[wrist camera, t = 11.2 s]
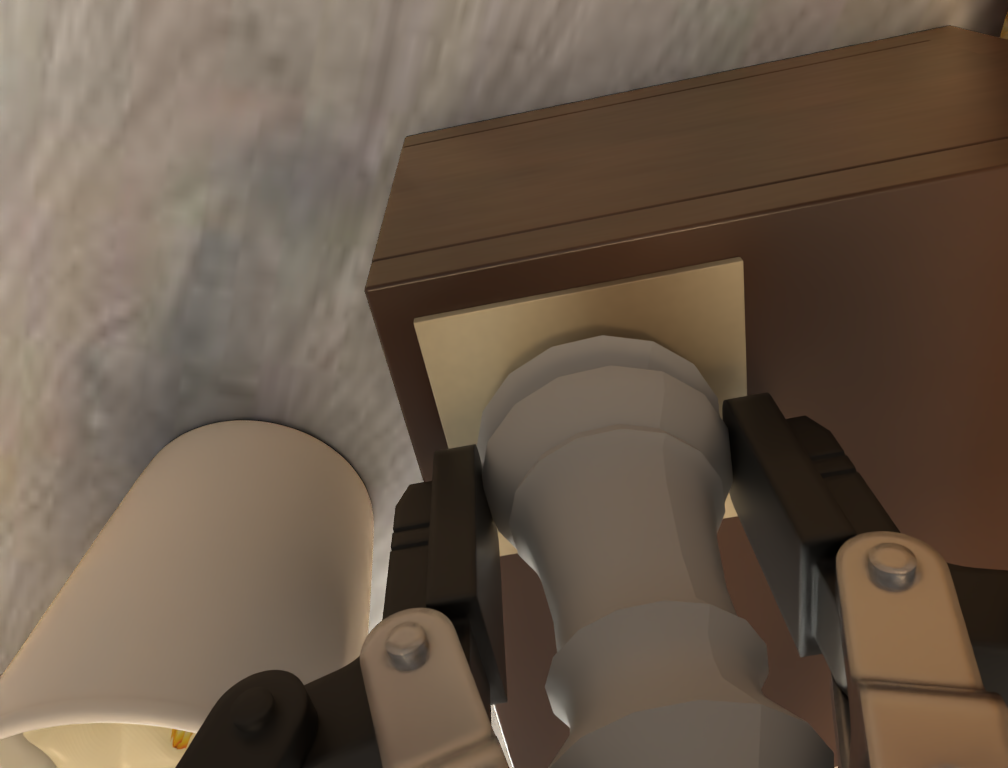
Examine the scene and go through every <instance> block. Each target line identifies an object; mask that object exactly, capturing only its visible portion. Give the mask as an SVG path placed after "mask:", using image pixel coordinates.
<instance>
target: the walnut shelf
mask: <svg viewBox="0 0 1008 768" xmlns="http://www.w3.org/2000/svg"><path fill="white" fill-rule="evenodd" d="M365 294H366V297H367V300H368V303H369V307H370V310H371V313H372V316H373V320H374V323H375V326H376V329H377V333H378V336H379V339H380V342H381V345H382V349H383V352H384V355H385V358H386V362H387V365H388V368H389V371H390V374H391V378H392V381H393V384H394V387H395V391H396V394H397V397H398V400H399V404H400V407H401V410H402V413H403V416H404V420H405V423H406V426H407V429H408V433H409V436H410V439H411V442H412V446H413V449H414V452H415V455H416V458H417V462H418V465H419V468H420V471H421V475H422V478H423V481H424V482H428V481H432V474H433V457H434V452H435V451H439V450H444V449H450V448H455V447H461V446H467V445H472V444H476V446H477V441H478V436H479V430H480V424H481V418H482V412H483V410H484V409H485V407H486V406H487V405H488V403H489V402H490V400H491V399H492V397H493V396H494V395H495V393H496V392H497V390H498V389H499V388H500V386H501V385H502V383H503V382H504V380H505V379H506V378H507V376H508V375H509V374H510V373H512V372H513V371H515V370H516V369H518V368H519V367H521V366H522V365H524V364H526V363H527V362H529V361H530V360H532V359H533V358H535V357H536V356H538V355H540V354H541V353H543V352H544V351H546V350H547V349H549V348H550V347H553V346H558V345H562V344H566V343H571V342H575V341H579V340H584V339H588V338H592V337H597V336H601V335H605V336H613V337H622V338H630V339H638V340H646V341H654V342H655V343H657V344H659V345H661V346H662V347H664V348H666V349H668V350H670V351H671V352H673V353H675V354H677V355H679V356H680V357H682V358H684V359H686V360H688V361H689V362H691V363H693V364H694V365H695V366H696V368H697V369H698V371H699V372H700V373H701V375H702V376H703V378H704V379H705V381H706V382H707V383H708V385H709V386H710V388H711V389H712V391H713V392H714V394H715V395H716V396H717V398H718V404H719V412H720V417H721V419H722V420H723V416H722V405H723V401H724V400H727V399H732V398H738V397H744V396H749V395H755V394H760V393H766V392H768V393H769V394H770V395H771V396H772V398H773V399H774V401H775V402H776V404H777V406H778V407H779V409H780V411H781V412H782V414H783V415H784V417H785V419H788V418H794V417H799V416H805V415H806V416H807V417H809V418H810V419H812V420H814V421H815V422H817V423H818V424H820V425H822V426H823V427H825V428H826V429H828V430H830V431H831V433H832V434H833V436H834V437H835V438H836V440H837V441H838V443H839V444H840V446H841V447H842V449H843V450H844V453H845V456H846V455H847V456H848V457H849V459H850V460H851V462H852V463H853V464H854V466H855V467H856V471H857V472H859V473H860V475H861V476H862V477H863V479H864V480H865V482H866V483H867V485H868V486H869V488H870V489H871V490H872V492H873V493H874V495H875V496H876V498H877V499H878V501H879V502H880V503H881V505H882V506H883V508H884V509H885V511H886V512H887V514H888V515H889V516H890V518H891V519H892V521H893V522H894V524H895V525H896V527H897V528H898V529H899V531H900V532H901V533H902V534H905V535H909V536H912V537H914V538H917V539H919V540H921V541H923V542H925V543H927V544H928V545H930V546H931V547H932V548H934V549H935V550H936V551H937V552H938V553H939V554H940V555H941V556H942V557H943V558H944V560H945V561H946V562H947V563H950V564H955V565H959V566H965V567H973V568H984V569H997V570H1008V40H1007V39H1003V38H999V37H995V36H991V35H987V34H983V33H979V32H975V31H971V30H966V29H962V28H958V27H954V26H945V27H940V28H935V29H930V30H926V31H921V32H916V33H911V34H907V35H902V36H897V37H892V38H887V39H882V40H878V41H873V42H868V43H863V44H858V45H853V46H848V47H843V48H838V49H833V50H829V51H824V52H819V53H814V54H809V55H804V56H799V57H794V58H789V59H784V60H780V61H775V62H770V63H765V64H760V65H755V66H750V67H745V68H740V69H736V70H731V71H726V72H721V73H716V74H711V75H706V76H701V77H696V78H691V79H687V80H682V81H677V82H672V83H667V84H662V85H657V86H652V87H647V88H642V89H638V90H633V91H628V92H623V93H618V94H613V95H608V96H603V97H598V98H594V99H589V100H584V101H579V102H574V103H569V104H564V105H559V106H554V107H549V108H545V109H540V110H535V111H530V112H525V113H520V114H515V115H510V116H505V117H500V118H496V119H491V120H486V121H481V122H476V123H471V124H466V125H461V126H456V127H452V128H447V129H442V130H437V131H432V132H427V133H422V134H417V135H412V136H407V137H406V138H405V140H404V144H403V148H402V150H401V154H400V158H399V162H398V165H397V169H396V173H395V177H394V180H393V184H392V188H391V192H390V195H389V199H388V203H387V207H386V210H385V214H384V218H383V222H382V225H381V229H380V233H379V237H378V240H377V244H376V248H375V252H374V255H373V259H372V264H371V267H370V271H369V275H368V278H367V282H366V286H365ZM497 531H498V529H497ZM498 538H499V551H500V570H501V588H502V607H503V625H504V644H505V662H506V681H507V699H508V702H507V703H500V704H494V705H493V707H494V710H495V713H496V717H497V720H498V723H499V726H500V730H501V733H502V736H503V739H504V743H505V746H506V749H507V752H508V755H509V759H510V762H511V765H512V768H548V767H549V766H550V764H551V763H552V761H553V760H554V758H555V757H556V755H557V754H558V752H559V751H560V749H561V748H562V746H563V745H564V743H565V742H566V740H567V739H568V737H569V736H570V727H568V726H567V725H566V724H565V723H564V722H563V721H562V720H560V719H559V718H558V717H557V716H556V715H555V714H554V713H553V710H552V707H551V704H550V701H549V698H548V695H547V692H546V689H545V684H546V681H547V677H548V673H549V670H550V666H551V663H552V659H553V657H554V656H555V654H556V653H557V648H556V639H555V631H554V623H553V619H552V616H551V612H550V609H549V605H548V602H547V599H546V595H545V592H544V588H543V585H542V582H541V580H540V578H539V576H538V574H537V573H536V572H535V571H534V570H533V569H532V568H531V567H530V566H529V565H528V564H527V563H526V562H525V561H524V560H523V559H522V558H521V557H520V556H519V555H518V552H517V549H516V548H515V547H514V546H513V545H512V544H511V543H510V542H509V541H508V540H507V539H506V538H505V537H504V536H503V535H502V534H501V533H500V532H499V531H498ZM717 541H718V546H719V551H720V557H721V562H722V567H723V572H724V577H725V582H726V587H727V590H728V593H729V595H730V598H731V601H732V603H733V606H734V609H735V611H736V614H737V616H738V617H740V618H743V619H745V620H747V622H748V623H749V624H750V625H751V627H752V628H753V629H754V630H755V631H756V633H757V634H758V635H759V636H760V637H761V639H762V640H763V641H764V642H765V643H766V645H767V656H768V667H769V674H768V676H767V678H766V680H765V682H764V684H763V686H762V688H761V691H762V693H763V694H764V696H765V697H766V698H767V699H769V700H771V701H772V702H774V703H776V704H777V705H779V706H781V707H782V708H784V709H786V710H787V711H789V712H791V713H792V714H794V715H796V716H797V717H799V718H801V719H802V720H804V721H806V722H807V723H809V724H810V725H811V727H812V728H813V729H814V730H815V731H816V732H817V734H818V735H819V736H820V737H821V738H822V739H823V741H824V742H825V743H826V744H827V745H828V746H829V748H830V749H831V750H832V751H833V752H834V767H836V766H838V761H837V752H836V742H835V733H834V724H833V714H832V705H831V696H830V676H831V671H830V669H829V666H828V664H827V662H826V660H825V658H824V656H823V654H818V655H812V656H805V657H800V655H799V652H798V650H797V648H796V646H795V643H794V641H793V639H792V637H791V634H790V632H789V630H788V628H787V625H786V623H785V621H784V619H783V616H782V614H781V612H780V610H779V607H778V605H777V603H776V601H775V598H774V596H773V594H772V592H771V589H770V587H769V585H768V583H767V580H766V578H765V576H764V574H763V571H762V569H761V567H760V565H759V562H758V560H757V558H756V556H755V553H754V551H753V549H752V547H751V544H750V542H749V540H748V538H747V535H746V533H745V531H744V529H743V526H742V524H741V522H740V520H739V517H738V515H737V513H736V510H735V508H734V506H733V503H732V500H731V497H730V494H729V493H728V496H727V498H726V501H725V514H724V517H723V519H722V522H721V525H720V527H719V530H718V532H717Z"/></svg>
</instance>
